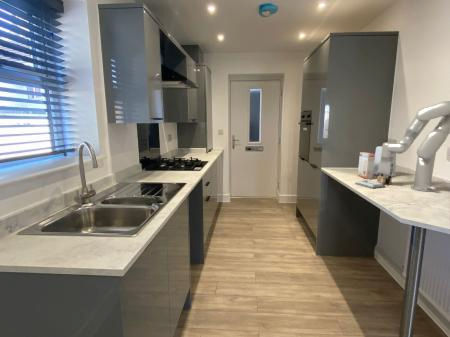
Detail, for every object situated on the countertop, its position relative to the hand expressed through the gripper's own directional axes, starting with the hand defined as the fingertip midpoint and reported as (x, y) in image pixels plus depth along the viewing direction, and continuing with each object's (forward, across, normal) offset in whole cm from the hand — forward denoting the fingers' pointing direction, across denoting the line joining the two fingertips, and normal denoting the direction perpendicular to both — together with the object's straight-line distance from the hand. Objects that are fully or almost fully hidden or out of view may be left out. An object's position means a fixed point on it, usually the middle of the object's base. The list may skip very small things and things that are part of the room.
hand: (384, 182), depth 196 cm
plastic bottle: (+1, +25, -29) cm, 38 cm away
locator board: (+1, 0, +14) cm, 14 cm away
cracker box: (+1, +23, -6) cm, 24 cm away
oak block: (+1, 0, 0) cm, 1 cm away
